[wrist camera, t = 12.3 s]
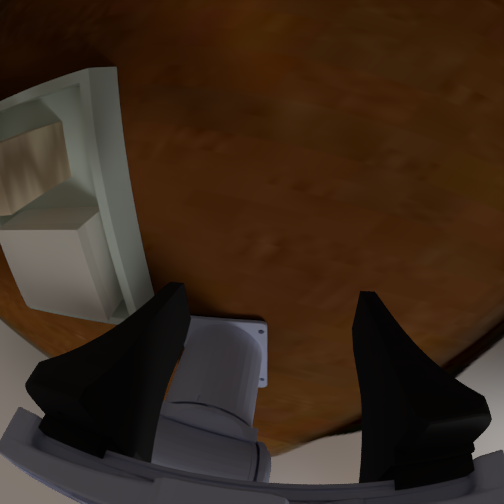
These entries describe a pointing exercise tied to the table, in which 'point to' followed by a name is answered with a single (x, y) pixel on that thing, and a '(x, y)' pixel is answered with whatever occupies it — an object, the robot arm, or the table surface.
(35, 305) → the light gray block
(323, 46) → the table surface
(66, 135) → the pale green tray
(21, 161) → the maple block
